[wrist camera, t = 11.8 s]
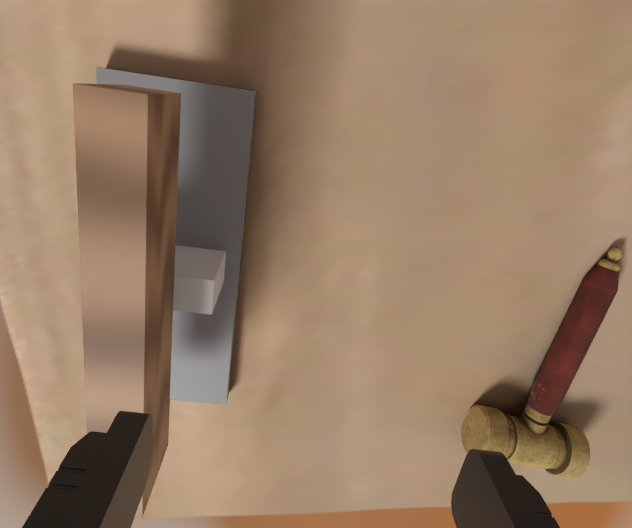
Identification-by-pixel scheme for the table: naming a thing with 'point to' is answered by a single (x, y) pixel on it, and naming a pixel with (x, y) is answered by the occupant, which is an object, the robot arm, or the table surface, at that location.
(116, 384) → the walnut bar
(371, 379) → the table surface
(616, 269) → the gavel
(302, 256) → the table surface
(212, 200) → the fulcrum stand
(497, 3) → the table surface
